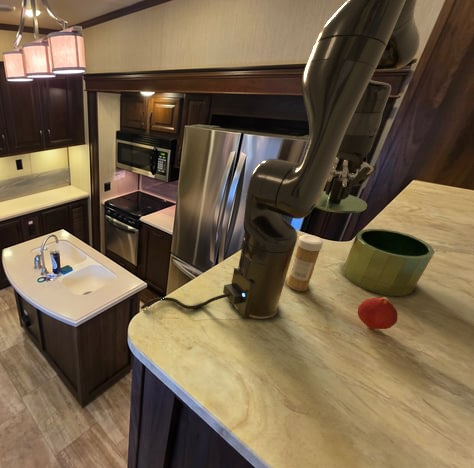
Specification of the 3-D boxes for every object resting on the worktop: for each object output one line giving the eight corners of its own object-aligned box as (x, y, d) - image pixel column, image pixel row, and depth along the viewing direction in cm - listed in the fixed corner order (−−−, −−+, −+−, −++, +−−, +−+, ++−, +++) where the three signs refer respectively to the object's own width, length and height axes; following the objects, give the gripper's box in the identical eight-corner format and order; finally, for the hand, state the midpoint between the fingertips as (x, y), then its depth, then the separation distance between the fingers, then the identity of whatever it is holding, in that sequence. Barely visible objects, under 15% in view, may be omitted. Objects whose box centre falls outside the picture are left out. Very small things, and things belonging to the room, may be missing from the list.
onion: (353, 312, 62) (366, 283, 59) (388, 324, 59) (405, 294, 55) (351, 329, 59) (365, 299, 55) (388, 343, 55) (407, 312, 51)
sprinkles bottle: (311, 286, 71) (327, 239, 64) (301, 294, 68) (317, 246, 62) (292, 277, 74) (305, 232, 67) (282, 284, 72) (295, 238, 65)
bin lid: (333, 218, 73) (342, 191, 69) (291, 198, 85) (297, 175, 81) (380, 210, 75) (391, 184, 71) (332, 192, 87) (339, 169, 84)
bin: (381, 300, 65) (400, 262, 60) (330, 268, 76) (343, 233, 71) (428, 290, 67) (451, 252, 62) (371, 259, 78) (387, 225, 73)
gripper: (319, 128, 76) (303, 190, 84) (373, 137, 64) (347, 208, 72) (344, 125, 77) (325, 186, 85) (400, 134, 65) (372, 204, 73)
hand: (335, 196), depth 79 cm, fingers closed on bin lid, 3 cm apart
